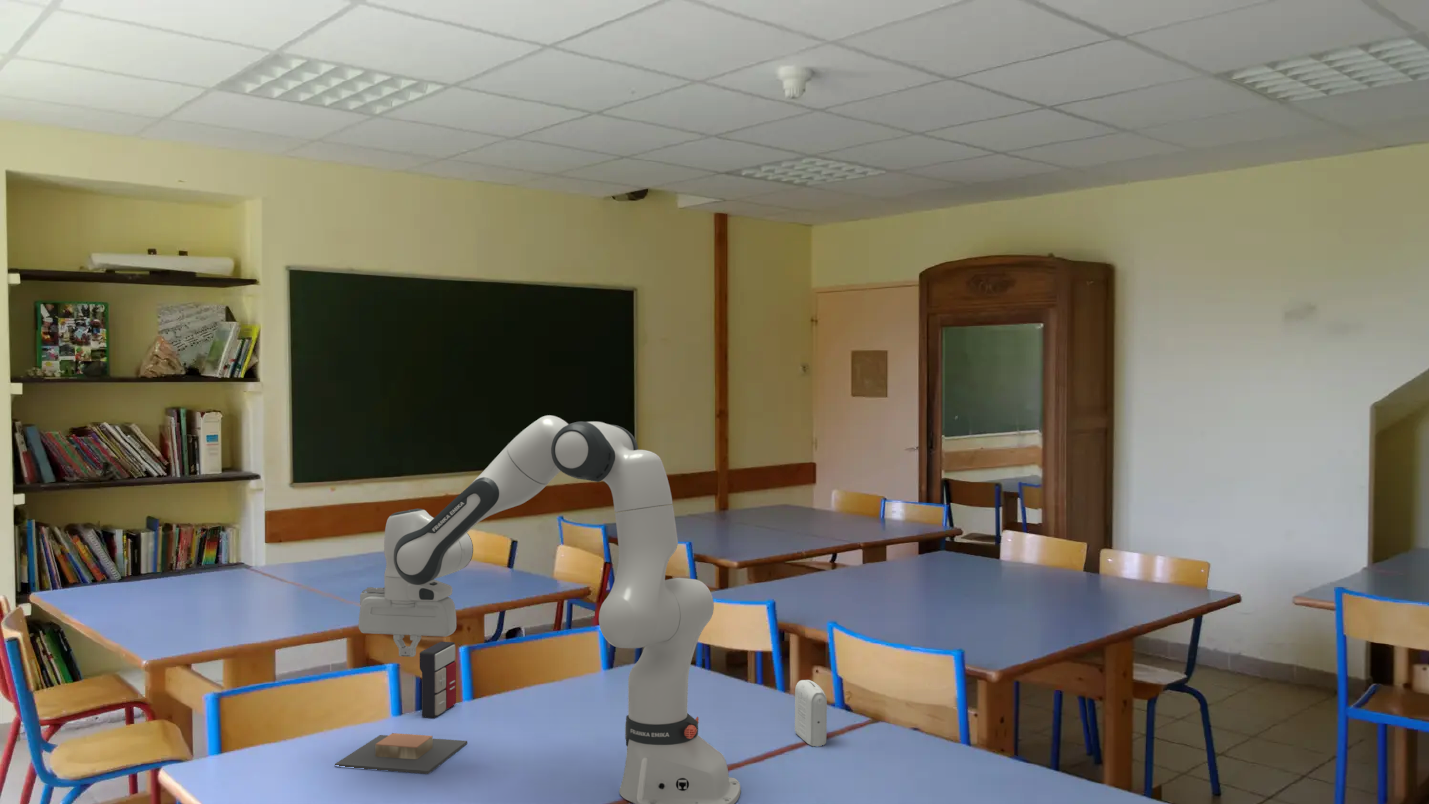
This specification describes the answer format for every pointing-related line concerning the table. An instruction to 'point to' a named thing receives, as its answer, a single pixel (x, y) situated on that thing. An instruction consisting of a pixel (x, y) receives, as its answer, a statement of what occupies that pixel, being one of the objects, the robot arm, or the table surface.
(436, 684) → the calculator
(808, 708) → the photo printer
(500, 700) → the table surface
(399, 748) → the tile
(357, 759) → the mat
